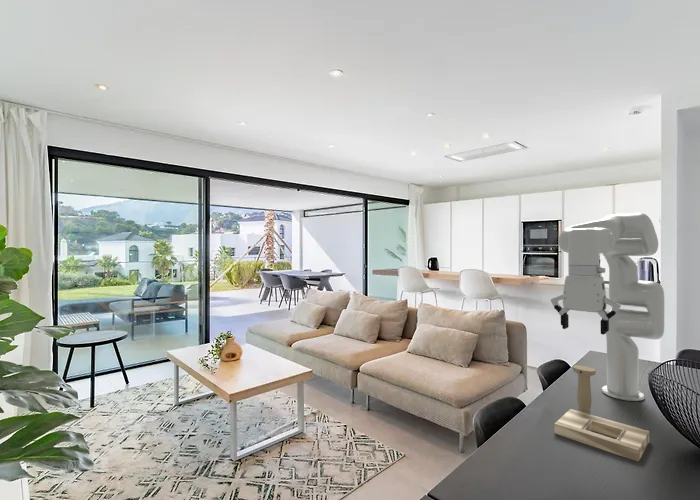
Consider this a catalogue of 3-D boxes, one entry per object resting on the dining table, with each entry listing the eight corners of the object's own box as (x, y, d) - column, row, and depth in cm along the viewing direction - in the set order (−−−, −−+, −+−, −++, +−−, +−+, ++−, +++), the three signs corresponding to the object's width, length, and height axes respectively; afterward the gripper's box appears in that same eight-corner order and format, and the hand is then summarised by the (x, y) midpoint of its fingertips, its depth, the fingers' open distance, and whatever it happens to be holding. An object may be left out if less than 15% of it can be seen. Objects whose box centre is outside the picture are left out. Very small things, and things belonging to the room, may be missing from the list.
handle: (592, 419, 119) (591, 372, 119) (570, 411, 124) (570, 367, 124) (598, 414, 122) (598, 369, 122) (577, 408, 127) (576, 364, 127)
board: (570, 418, 120) (570, 408, 120) (649, 441, 105) (649, 430, 105) (554, 433, 110) (554, 423, 110) (638, 461, 96) (638, 449, 96)
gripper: (623, 271, 103) (623, 333, 103) (555, 269, 116) (556, 324, 116) (616, 273, 98) (616, 338, 98) (546, 270, 111) (546, 328, 111)
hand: (583, 330), depth 107 cm, fingers open, 9 cm apart
